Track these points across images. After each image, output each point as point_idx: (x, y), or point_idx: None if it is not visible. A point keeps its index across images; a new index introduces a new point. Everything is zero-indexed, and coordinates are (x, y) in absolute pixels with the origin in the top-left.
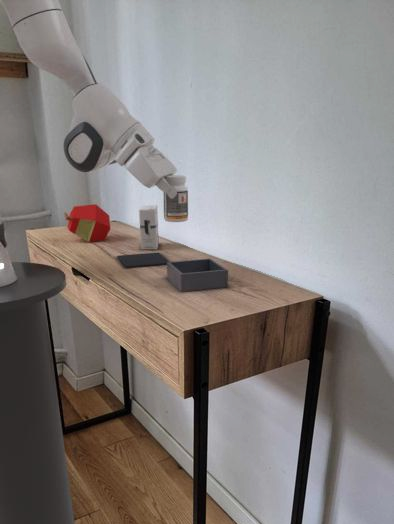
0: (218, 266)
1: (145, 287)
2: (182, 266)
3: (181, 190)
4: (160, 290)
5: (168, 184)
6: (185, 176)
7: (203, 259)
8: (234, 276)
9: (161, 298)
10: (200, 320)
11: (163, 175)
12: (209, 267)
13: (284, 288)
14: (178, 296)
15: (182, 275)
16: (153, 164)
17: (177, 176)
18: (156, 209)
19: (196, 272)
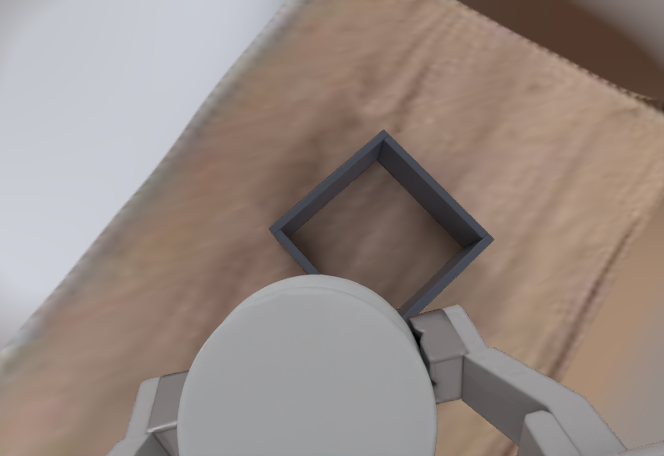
0: (343, 174)
1: None
2: None
3: (376, 296)
4: (487, 308)
5: (536, 374)
6: (270, 294)
7: (291, 245)
8: (269, 167)
9: (546, 273)
10: (630, 126)
11: (647, 447)
12: (285, 232)
13: (326, 25)
14: (509, 239)
15: (489, 236)
16: None
17: (328, 378)
18: None
19: (453, 204)
